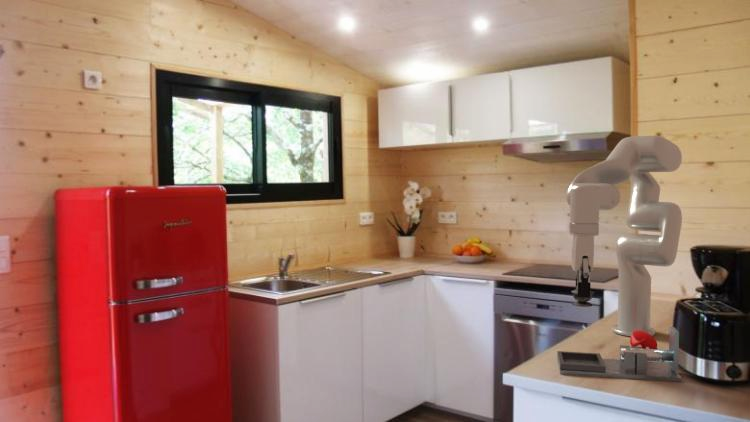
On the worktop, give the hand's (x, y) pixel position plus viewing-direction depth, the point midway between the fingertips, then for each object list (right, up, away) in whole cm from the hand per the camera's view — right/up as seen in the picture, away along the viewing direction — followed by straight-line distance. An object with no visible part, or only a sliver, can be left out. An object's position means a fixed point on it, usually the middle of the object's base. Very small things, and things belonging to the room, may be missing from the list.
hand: (582, 294), depth 165 cm
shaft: (+13, -17, -11) cm, 24 cm away
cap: (+20, -18, +6) cm, 27 cm away
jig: (+6, -19, -9) cm, 21 cm away
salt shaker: (0, -3, 0) cm, 3 cm away
